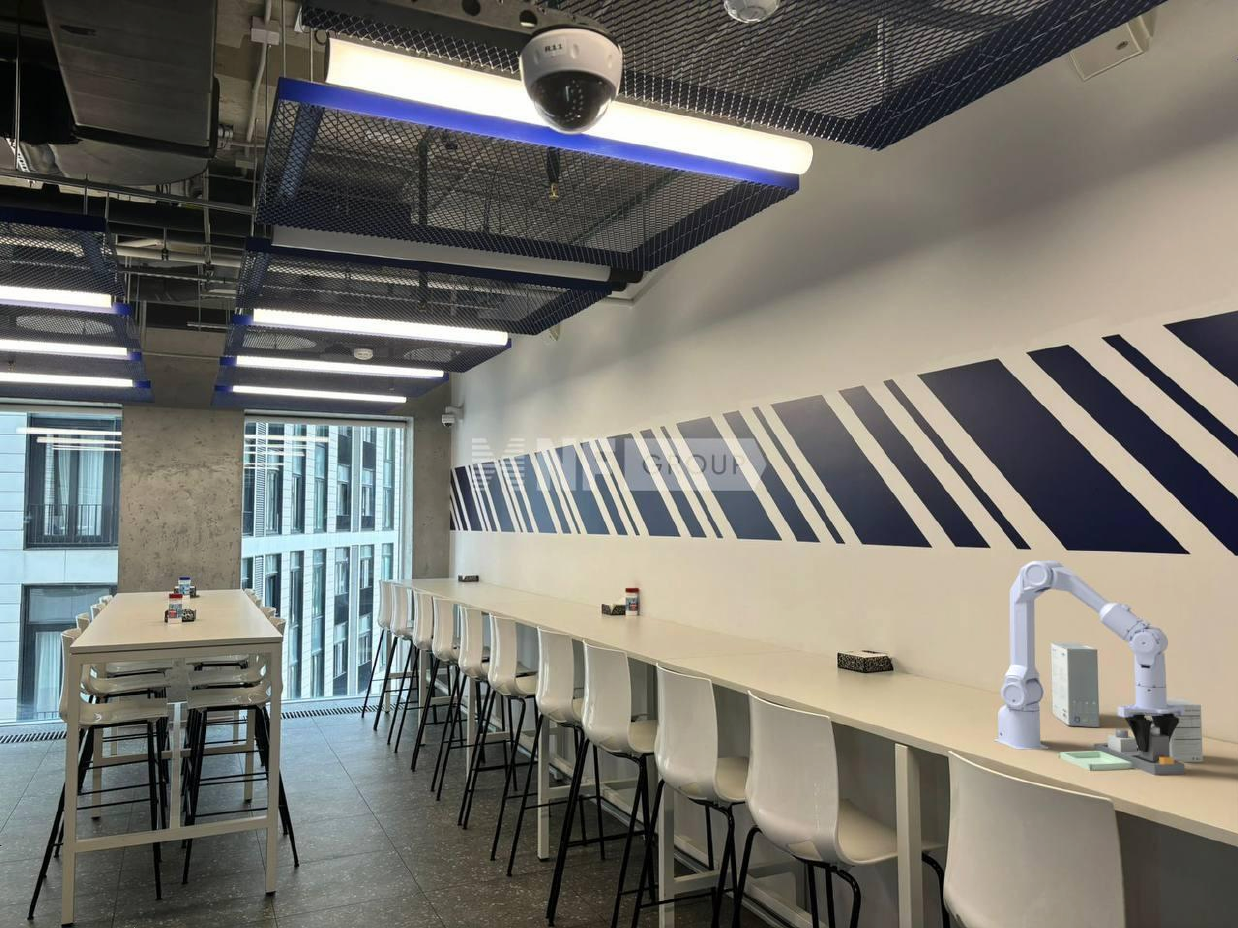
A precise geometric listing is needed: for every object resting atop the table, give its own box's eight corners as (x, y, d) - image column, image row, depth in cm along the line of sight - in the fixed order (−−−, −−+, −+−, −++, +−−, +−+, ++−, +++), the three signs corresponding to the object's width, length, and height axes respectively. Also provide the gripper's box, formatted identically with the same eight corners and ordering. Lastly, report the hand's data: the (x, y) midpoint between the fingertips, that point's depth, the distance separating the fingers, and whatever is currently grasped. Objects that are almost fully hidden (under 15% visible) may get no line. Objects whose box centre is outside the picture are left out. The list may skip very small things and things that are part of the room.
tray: (1058, 760, 195) (1058, 752, 195) (1099, 758, 196) (1099, 750, 196) (1089, 772, 185) (1089, 764, 185) (1132, 770, 186) (1132, 762, 187)
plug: (1138, 755, 188) (1137, 725, 189) (1155, 755, 189) (1154, 724, 189) (1152, 761, 184) (1151, 729, 185) (1169, 760, 185) (1168, 728, 185)
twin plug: (1108, 757, 197) (1107, 728, 198) (1124, 757, 198) (1123, 727, 198) (1121, 762, 193) (1120, 732, 194) (1137, 761, 194) (1136, 731, 194)
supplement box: (1149, 754, 201) (1147, 697, 201) (1180, 753, 201) (1178, 697, 202) (1172, 762, 193) (1170, 704, 194) (1204, 762, 194) (1202, 703, 195)
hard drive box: (1100, 728, 226) (1098, 649, 227) (1068, 726, 228) (1066, 648, 229) (1081, 715, 241) (1079, 641, 243) (1051, 714, 243) (1049, 640, 244)
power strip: (1094, 754, 199) (1093, 738, 200) (1122, 753, 201) (1121, 737, 201) (1154, 777, 182) (1154, 758, 182) (1184, 775, 183) (1184, 757, 183)
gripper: (1133, 689, 183) (1136, 756, 182) (1195, 687, 185) (1198, 753, 184) (1109, 683, 190) (1111, 748, 189) (1169, 682, 192) (1172, 745, 191)
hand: (1152, 750), depth 187 cm, fingers closed on plug, 4 cm apart
